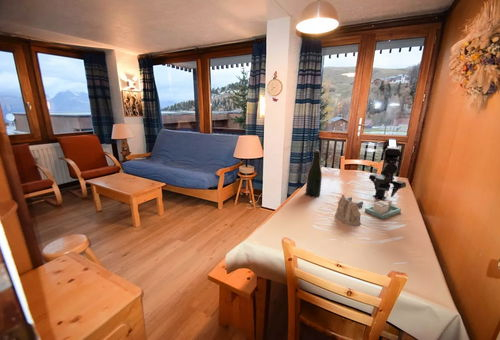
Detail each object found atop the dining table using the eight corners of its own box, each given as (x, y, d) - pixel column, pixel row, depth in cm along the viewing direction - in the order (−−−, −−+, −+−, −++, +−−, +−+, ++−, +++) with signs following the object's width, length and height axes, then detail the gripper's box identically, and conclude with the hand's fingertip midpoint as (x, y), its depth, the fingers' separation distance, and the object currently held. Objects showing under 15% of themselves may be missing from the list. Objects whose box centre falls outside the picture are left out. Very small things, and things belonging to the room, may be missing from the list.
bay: (350, 200, 153) (351, 196, 152) (362, 205, 146) (362, 201, 145) (343, 202, 150) (344, 198, 149) (355, 208, 142) (356, 203, 141)
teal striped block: (384, 207, 142) (386, 198, 141) (392, 210, 138) (394, 201, 136) (372, 211, 137) (374, 202, 135) (380, 215, 132) (382, 206, 131)
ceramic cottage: (348, 227, 119) (353, 201, 116) (329, 214, 134) (333, 191, 131) (371, 225, 124) (376, 200, 120) (350, 212, 139) (354, 190, 136)
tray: (382, 205, 147) (383, 202, 146) (400, 212, 137) (401, 208, 137) (364, 211, 138) (365, 207, 137) (382, 219, 128) (382, 215, 128)
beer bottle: (302, 192, 166) (306, 149, 156) (313, 190, 170) (318, 148, 160) (311, 198, 156) (316, 152, 147) (323, 195, 160) (328, 151, 151)
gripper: (365, 166, 132) (361, 191, 137) (397, 175, 117) (392, 202, 121) (376, 164, 138) (372, 188, 142) (409, 172, 122) (403, 198, 126)
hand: (383, 194), depth 133 cm, fingers open, 9 cm apart
